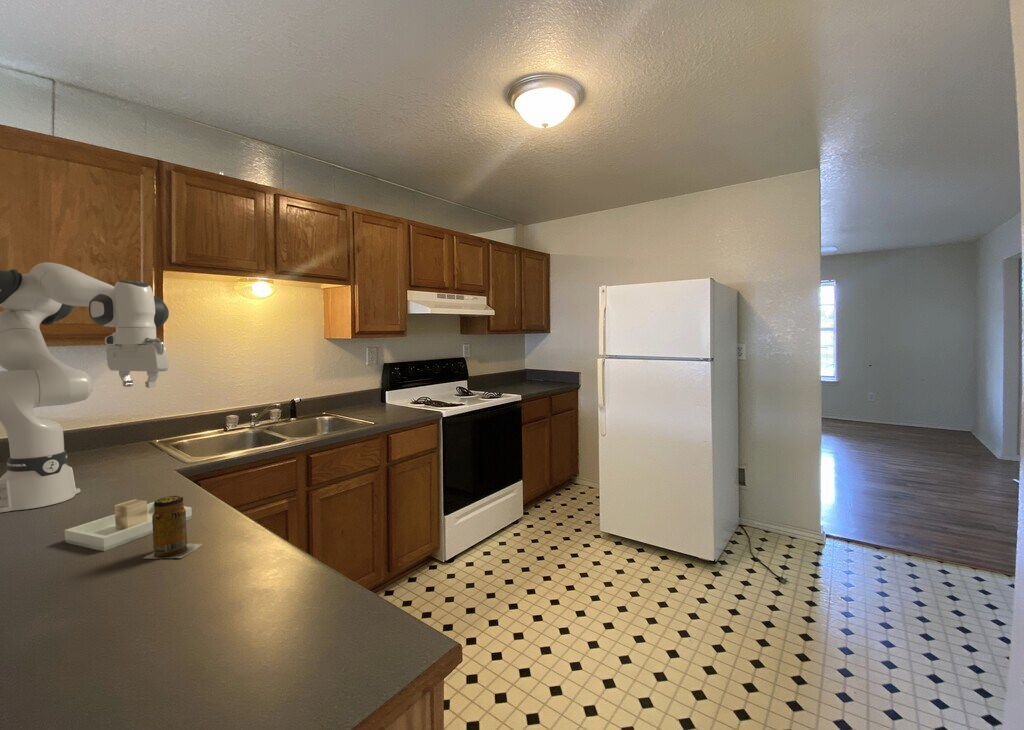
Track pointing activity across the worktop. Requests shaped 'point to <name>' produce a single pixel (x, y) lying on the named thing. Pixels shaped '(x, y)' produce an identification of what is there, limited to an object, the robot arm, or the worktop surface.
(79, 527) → the shallow rimmed tray
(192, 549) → the condiment
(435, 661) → the worktop surface
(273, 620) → the worktop surface
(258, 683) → the worktop surface
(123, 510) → the birch block
